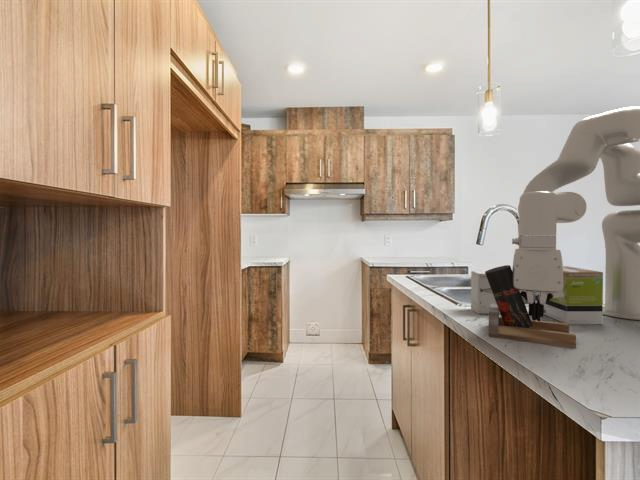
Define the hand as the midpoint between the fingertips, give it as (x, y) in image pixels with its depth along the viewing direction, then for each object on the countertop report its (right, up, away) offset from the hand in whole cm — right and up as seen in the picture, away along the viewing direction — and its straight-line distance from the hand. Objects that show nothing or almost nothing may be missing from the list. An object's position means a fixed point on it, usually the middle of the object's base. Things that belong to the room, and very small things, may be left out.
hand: (535, 319), depth 80 cm
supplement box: (+1, -4, +26) cm, 26 cm away
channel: (-1, -4, +1) cm, 4 cm away
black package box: (-3, -3, +2) cm, 4 cm away
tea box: (+21, -4, +18) cm, 28 cm away
